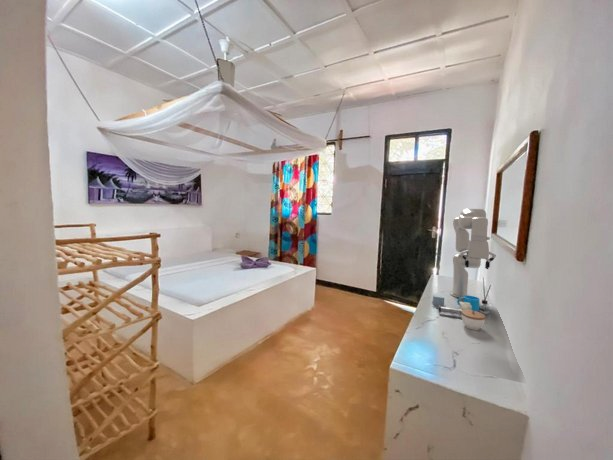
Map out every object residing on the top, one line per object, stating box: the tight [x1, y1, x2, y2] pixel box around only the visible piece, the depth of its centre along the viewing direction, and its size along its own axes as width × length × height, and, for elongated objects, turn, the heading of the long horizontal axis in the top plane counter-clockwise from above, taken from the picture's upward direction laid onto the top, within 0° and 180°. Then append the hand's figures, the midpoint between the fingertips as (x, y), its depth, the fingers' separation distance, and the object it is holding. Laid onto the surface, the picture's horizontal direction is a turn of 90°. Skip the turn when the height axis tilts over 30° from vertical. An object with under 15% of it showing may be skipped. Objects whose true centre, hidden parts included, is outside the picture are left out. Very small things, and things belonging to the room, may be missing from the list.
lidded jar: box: [461, 310, 486, 331], centre depth 133 cm, size 11×11×9 cm
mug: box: [456, 295, 480, 312], centre depth 158 cm, size 12×8×8 cm
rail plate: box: [436, 301, 472, 320], centre depth 151 cm, size 14×18×7 cm
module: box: [432, 293, 445, 307], centre depth 166 cm, size 7×6×6 cm
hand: (476, 267), depth 141 cm, fingers open, 9 cm apart
